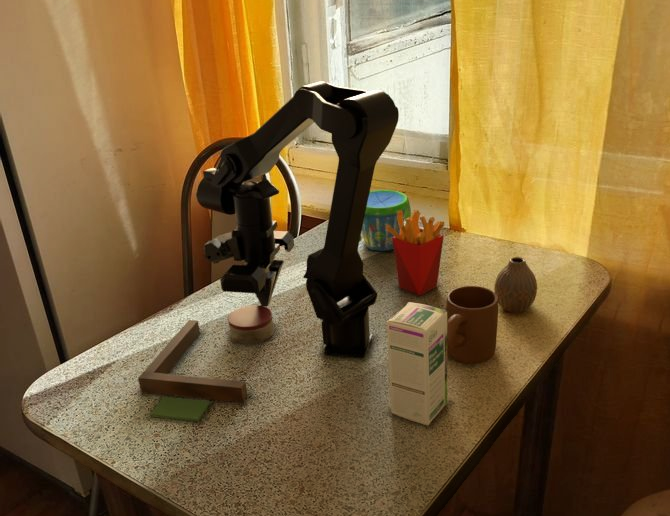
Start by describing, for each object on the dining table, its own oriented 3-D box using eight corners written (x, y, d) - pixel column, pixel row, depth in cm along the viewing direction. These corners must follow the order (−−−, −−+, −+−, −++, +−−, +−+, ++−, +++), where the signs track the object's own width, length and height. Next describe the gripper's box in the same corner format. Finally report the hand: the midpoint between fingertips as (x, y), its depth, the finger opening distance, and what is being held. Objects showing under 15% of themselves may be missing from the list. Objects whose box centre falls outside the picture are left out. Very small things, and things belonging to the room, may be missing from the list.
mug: (471, 386, 94) (473, 328, 89) (422, 371, 97) (422, 315, 93) (503, 345, 102) (506, 291, 98) (457, 333, 106) (459, 280, 102)
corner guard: (281, 340, 107) (280, 326, 106) (243, 402, 93) (241, 388, 91) (191, 332, 110) (188, 319, 109) (141, 392, 96) (137, 377, 95)
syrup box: (428, 427, 86) (428, 330, 79) (388, 413, 89) (385, 319, 82) (447, 403, 90) (449, 309, 84) (409, 391, 93) (408, 299, 87)
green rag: (210, 403, 93) (210, 401, 93) (198, 421, 89) (198, 419, 89) (164, 398, 94) (164, 396, 94) (150, 416, 91) (150, 414, 91)
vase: (489, 313, 111) (491, 266, 107) (498, 295, 117) (500, 249, 113) (531, 319, 109) (535, 271, 105) (538, 300, 115) (542, 254, 110)
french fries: (416, 275, 125) (415, 199, 118) (451, 288, 120) (452, 209, 113) (383, 291, 120) (381, 213, 113) (419, 306, 115) (418, 224, 108)
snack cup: (369, 264, 130) (367, 215, 126) (337, 248, 138) (334, 201, 133) (427, 241, 139) (427, 194, 134) (393, 227, 146) (392, 183, 142)
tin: (280, 323, 112) (278, 306, 110) (265, 346, 105) (263, 328, 104) (240, 320, 113) (237, 303, 112) (223, 342, 107) (220, 325, 105)
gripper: (230, 198, 117) (241, 278, 124) (181, 240, 101) (198, 329, 108) (290, 200, 114) (299, 282, 121) (251, 243, 98) (263, 335, 105)
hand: (265, 305), depth 114 cm, fingers closed
